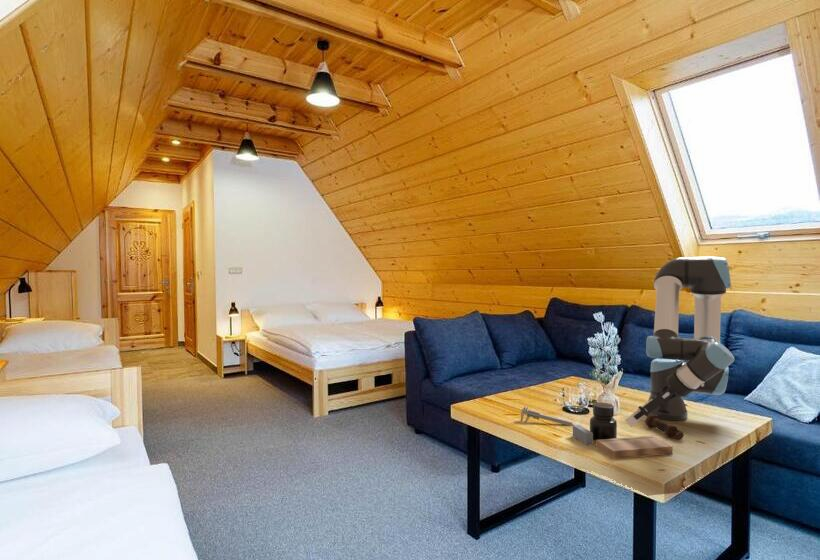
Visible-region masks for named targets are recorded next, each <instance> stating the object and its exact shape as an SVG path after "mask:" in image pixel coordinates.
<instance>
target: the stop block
mask: <svg viewBox="0 0 820 560" xmlns="http://www.w3.org/2000/svg"><path fill="white" fill-rule="evenodd" d="M573 436H574V438H575V439H576V438H577V439H576V440H578V441H579V440H580V441H579V442H581V443H582V444H583V445H585V446H593V445H594V440H593V433H592V432H590V429H587V428H586V427H584V426H582V425H581V424H575V425H572V437H573Z"/></svg>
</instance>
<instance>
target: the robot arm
mask: <svg viewBox="0 0 820 560" xmlns="http://www.w3.org/2000/svg"><path fill="white" fill-rule="evenodd" d="M728 263H729V262H728V260H727V259H726V258H725V257H724V256H723V257H720V256H693V257H692V256H690V257H689V256H688V257H685V256H681V257H676V258H673V259H671V260H669V261H667V262H666V263H665V264H663V265H662V266H661V267H660V268H659V270H658V271H657V273H656V275H655V276H654V279H653V280H654V281H653V287H654V290H655V291H656V294H655V295H656V296H655V306H654V307H655V309H654V310H655V312H654V324H653V326H654V327H653V335H648V336H647V337H646V343H645V344H646V345H645V346H646V347H645V353H646V356H647V357H648V358H651V359H652V361H651V362H650V370H649V372H650V389H649V391H650V394H649V397H648V400H647V402H645V403H644V404H643V405H642V406H641V405H639V406H638V408H637V409H636V411H634V412H633V413H632V414H631V415H628V417H627V418H625V419H624V421H626V423H627V424H628V425H629V426H630V427H633V426H634V425H635V424H637V423H639V421H641V420H642V419H644V418H645V417H646V416H647V417H648V415H650V414H656V415H658V416H659V418H660V420H664V421H683V420H684V421H685V420H687V419H688V415H689V414H688V410H687V407H686V404H685V400H684V399H683V398H685V397H687V396H688V395H690V394H691V393H694V394H695V393H697V394H705V395H709V396H713V395H714V396H715V395H716V396H721V395H724V394H725V392H726V390H727V386H728V380H729V371H730V369H729V366H730V365H731V364H733V363H734V361H735V356H734V355H733V354H732V352H731V351H730V350H729V349H728V348H727V347H726V346H725V345H724V344H722V343H721V322H722V321H721V319H722V318H721V315H722V314H721V313H722V311H721V310H722V309H721V308H722V297H723V296H724V295H726V294H727V289H731V288H732V285H731V284H732V283H731V275H730V269H729V268H730V267H729V264H728ZM683 288H689V292H690V293H691V295H693V297H694V313H693V314H694V318H693V319H694V321H693V322H694V323H693V324H694V329H693V331H694V332H693V338H688V337H679V321H680V319H679V314H680V312H679V311H680V292H681V291H682V289H683Z"/></svg>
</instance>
